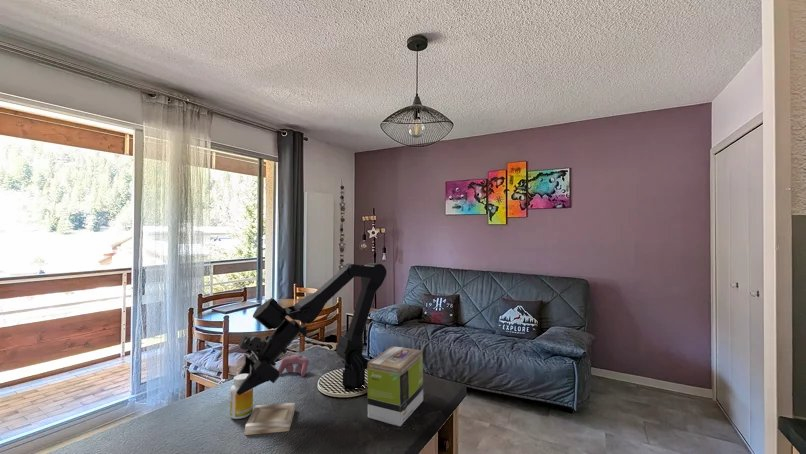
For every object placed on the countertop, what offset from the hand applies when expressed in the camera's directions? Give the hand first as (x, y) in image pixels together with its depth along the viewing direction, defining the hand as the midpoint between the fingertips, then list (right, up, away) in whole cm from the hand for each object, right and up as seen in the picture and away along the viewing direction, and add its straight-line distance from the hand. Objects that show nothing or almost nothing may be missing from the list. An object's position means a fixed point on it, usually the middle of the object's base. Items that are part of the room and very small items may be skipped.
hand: (236, 389), depth 87 cm
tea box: (+42, -8, +4) cm, 43 cm away
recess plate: (+10, -7, -2) cm, 13 cm away
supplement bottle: (+1, -7, +1) cm, 7 cm away
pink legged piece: (+6, -8, +28) cm, 30 cm away
